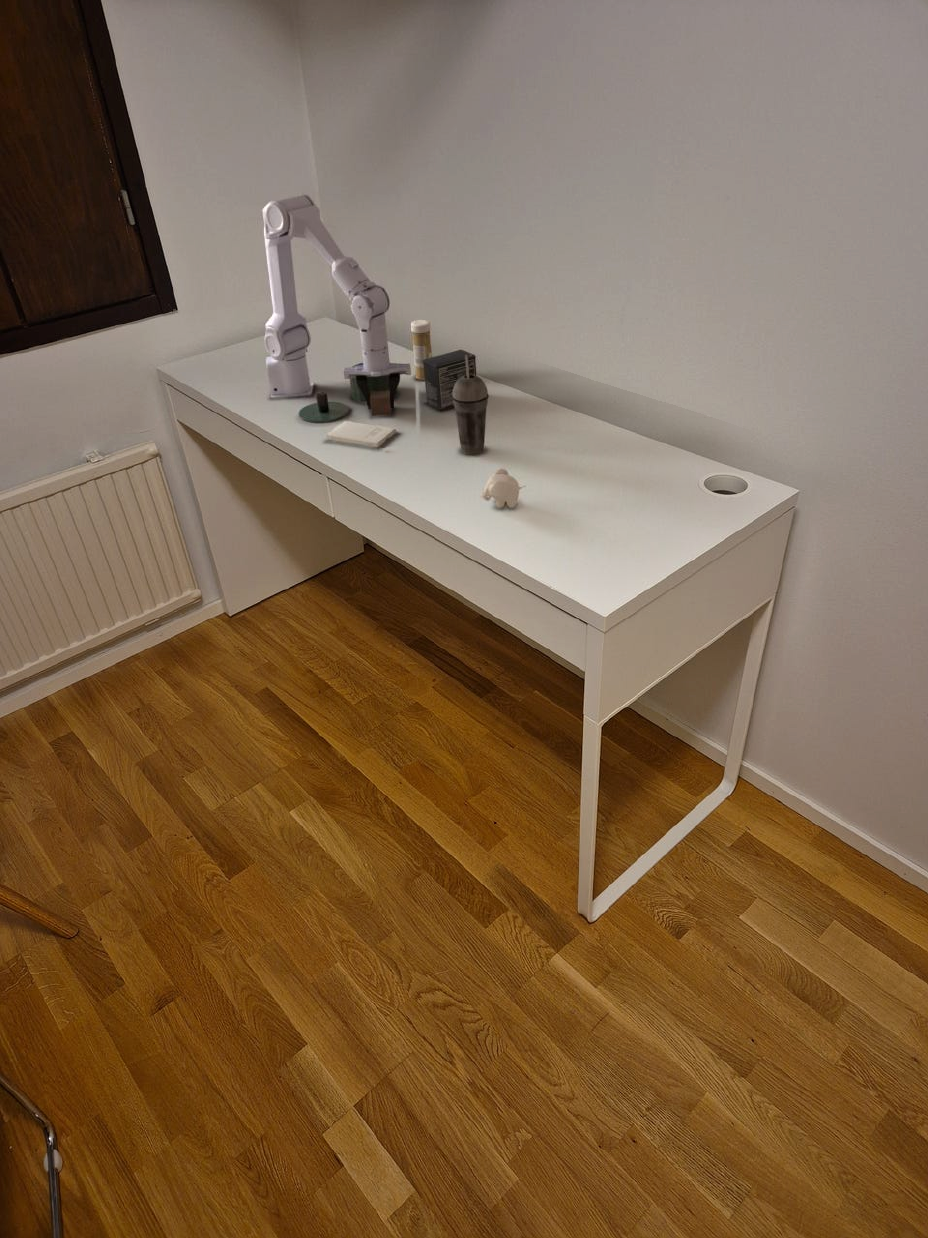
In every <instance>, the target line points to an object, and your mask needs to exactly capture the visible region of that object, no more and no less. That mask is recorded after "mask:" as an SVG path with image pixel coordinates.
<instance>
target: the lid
mask: <svg viewBox="0 0 928 1238" xmlns="http://www.w3.org/2000/svg"><path fill="white" fill-rule="evenodd" d="M315 397H316V402H314V403H311V404H307V405H306V406H304V407H302V408H301V409H300V410H299V412H298V416H299V418H300V420H302V421H304V422H306V423H307V422H308V423H314V424H316V423H317V424H318V423H320V424H322V423H329V422H335V421H338V420H340V419H343V418H345V417H346V416H347V415H348V414H349V412H350V408H349V406H348V405H347V404H345V403H344V402H339V401H329V400H328V394H327V392H326V391H318V392H316V394H315Z"/></svg>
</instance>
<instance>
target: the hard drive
mask: <svg viewBox="0 0 928 1238" xmlns="http://www.w3.org/2000/svg"><path fill="white" fill-rule="evenodd" d="M396 433H397V428H394V427H387V426H383V425H376V424H375V425H374V424H370V423H369V424H368V423H364V422H363V423H362V422H356V421H349V420H343V422H341V423H340V424H338V425H337V426H335V428H333V429H332V430H330V431H329V432H327V433H326V435H325V438H326V441H327V440H328V441H334V442H335V441H336V442H341V443H348V444H354V445H355V444H356V445H359V446H366V447H367V446H368V447H372V448H376V449H378V450H379V449H380V448H381V445H382V444H383V443H385V442H386V440H388V439H390V438H391V437H392V436H393V435H394V434H396Z"/></svg>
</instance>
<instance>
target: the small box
mask: <svg viewBox="0 0 928 1238" xmlns="http://www.w3.org/2000/svg"><path fill="white" fill-rule="evenodd" d="M465 355H468V366H469V375H475V376H477V362H476V360H477V359H476V358H477V357H476V354H473V353H471V352H468V351H466V350H464V349H457V350H453V351H451V352H447V353H443V354H439V355H436V356H432V357H431V358H428V359H424V360H423V366H424V377H425V380H424V388H425V397H426V399H425V400H426V401H425V402H426V405H428V406H430V407H431V408H433V409H434V410H436V411H438V412H442V411H446V410H450V409H453V408H455V407H454V403H453V399H452V392H453V388H454V385H455V383H456V382H457V380H458V379H460V378H461V377H463V376H465V375H467V372H466V361H465Z"/></svg>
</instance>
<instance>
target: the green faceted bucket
mask: <svg viewBox="0 0 928 1238" xmlns="http://www.w3.org/2000/svg"><path fill="white" fill-rule="evenodd" d="M359 365H363V362H360V363H357V364H354V365H352V366H351V367H354V366H359ZM368 380H369V391H370V392H374V391H389V390H390V388H389V375H386V376H370V377H368ZM349 384H350V391H351V398H352V399H354V400H355V401H358V402H361V403H362V402H363V403H367V402H366V400H365V398H364V396H363V394H362V392H361V390H360V389H359V387H358V386H357V384H356V377H355V378H349ZM396 395H397V393H396V394H395V396H396Z"/></svg>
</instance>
